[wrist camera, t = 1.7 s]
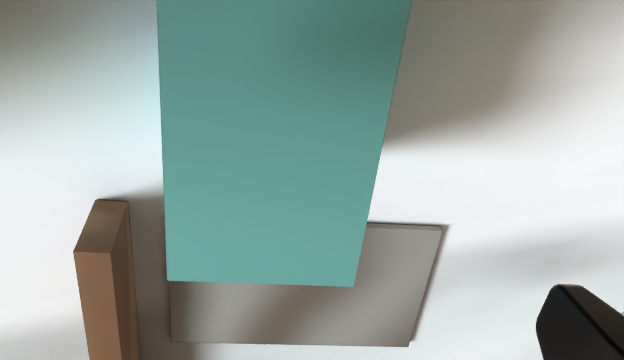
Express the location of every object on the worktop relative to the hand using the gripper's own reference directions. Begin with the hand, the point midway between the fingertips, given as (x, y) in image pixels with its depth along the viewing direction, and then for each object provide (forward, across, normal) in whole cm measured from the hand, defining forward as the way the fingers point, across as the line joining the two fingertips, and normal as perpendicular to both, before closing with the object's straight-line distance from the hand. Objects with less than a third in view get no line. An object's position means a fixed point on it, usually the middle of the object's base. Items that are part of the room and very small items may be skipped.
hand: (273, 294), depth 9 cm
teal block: (+12, 0, 0) cm, 12 cm away
